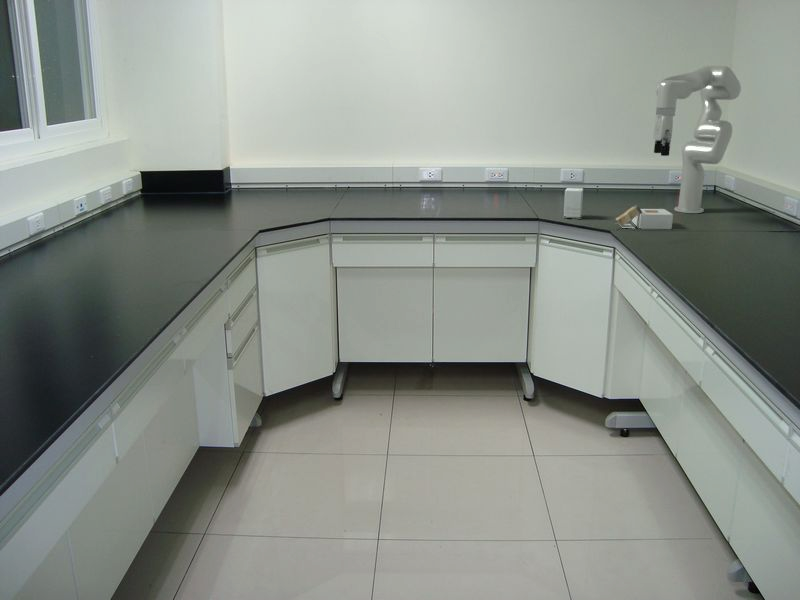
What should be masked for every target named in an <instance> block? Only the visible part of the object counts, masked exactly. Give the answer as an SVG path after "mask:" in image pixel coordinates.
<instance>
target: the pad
mask: <svg viewBox="0 0 800 600" xmlns="http://www.w3.org/2000/svg"><path fill="white" fill-rule="evenodd" d="M622 228H632V229H631V230H636V226H634V225H632V223H626V224H625V225H623V227H622Z"/></svg>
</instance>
